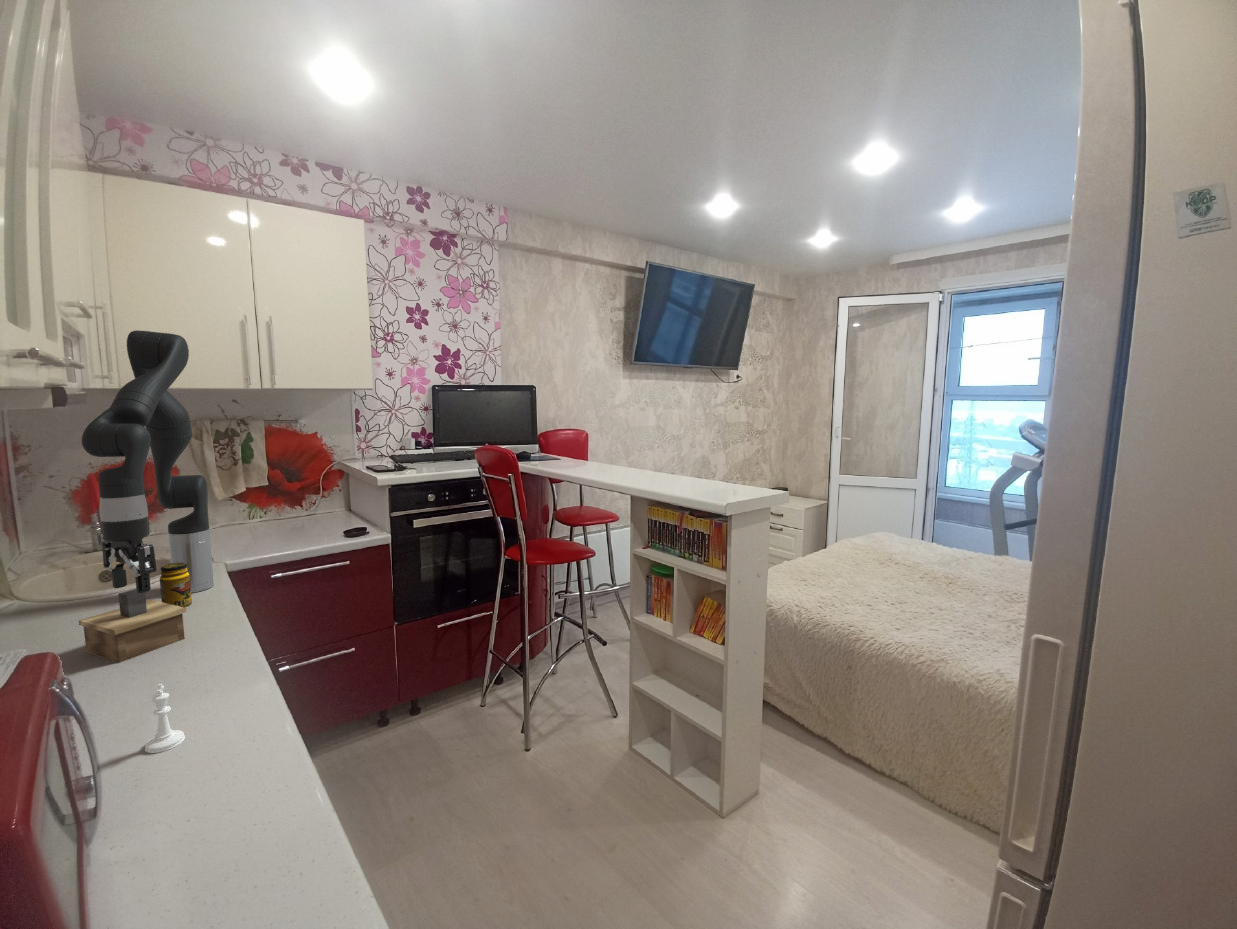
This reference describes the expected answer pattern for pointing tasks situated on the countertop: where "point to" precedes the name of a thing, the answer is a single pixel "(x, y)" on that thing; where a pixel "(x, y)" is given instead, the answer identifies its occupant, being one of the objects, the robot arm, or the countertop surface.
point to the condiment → (175, 585)
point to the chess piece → (163, 726)
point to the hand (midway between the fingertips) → (131, 589)
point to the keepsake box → (134, 639)
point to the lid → (131, 614)
